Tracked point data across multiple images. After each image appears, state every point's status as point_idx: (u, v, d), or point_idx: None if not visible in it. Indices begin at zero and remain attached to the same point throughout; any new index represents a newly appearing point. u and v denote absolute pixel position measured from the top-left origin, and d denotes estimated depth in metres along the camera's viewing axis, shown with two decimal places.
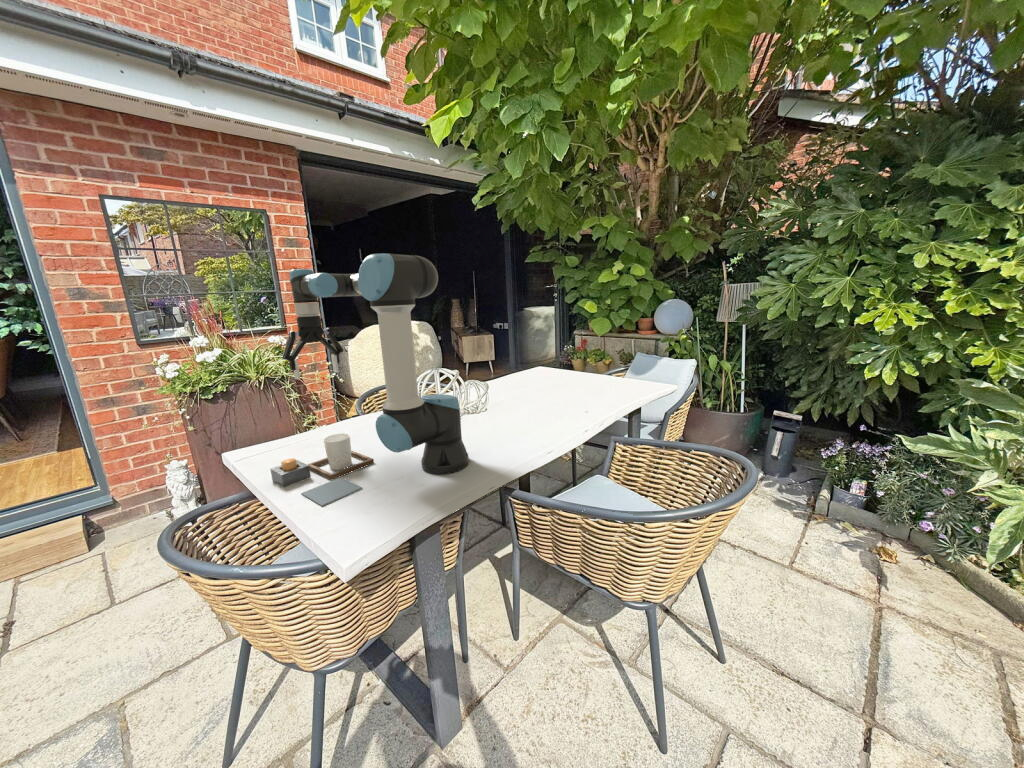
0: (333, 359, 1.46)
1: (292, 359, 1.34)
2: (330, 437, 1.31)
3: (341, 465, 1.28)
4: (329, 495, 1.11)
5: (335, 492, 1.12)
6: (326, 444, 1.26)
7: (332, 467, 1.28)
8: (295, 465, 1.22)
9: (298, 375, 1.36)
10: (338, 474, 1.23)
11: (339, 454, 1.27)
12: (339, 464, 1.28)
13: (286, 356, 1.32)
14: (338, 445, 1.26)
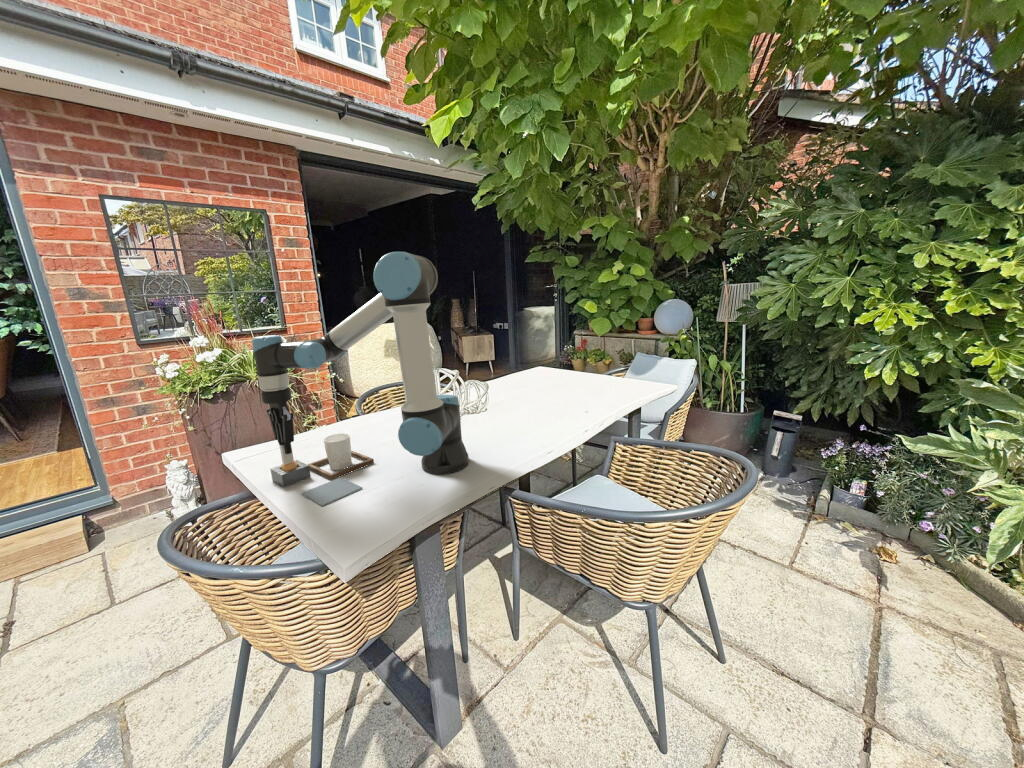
0: None
1: (278, 441, 1.20)
2: (330, 437, 1.31)
3: (341, 465, 1.28)
4: (329, 495, 1.11)
5: (335, 492, 1.12)
6: (326, 444, 1.26)
7: (332, 467, 1.28)
8: (295, 467, 1.22)
9: (282, 459, 1.21)
10: (338, 474, 1.23)
11: (339, 454, 1.27)
12: (339, 464, 1.28)
13: (274, 436, 1.21)
14: (338, 445, 1.26)
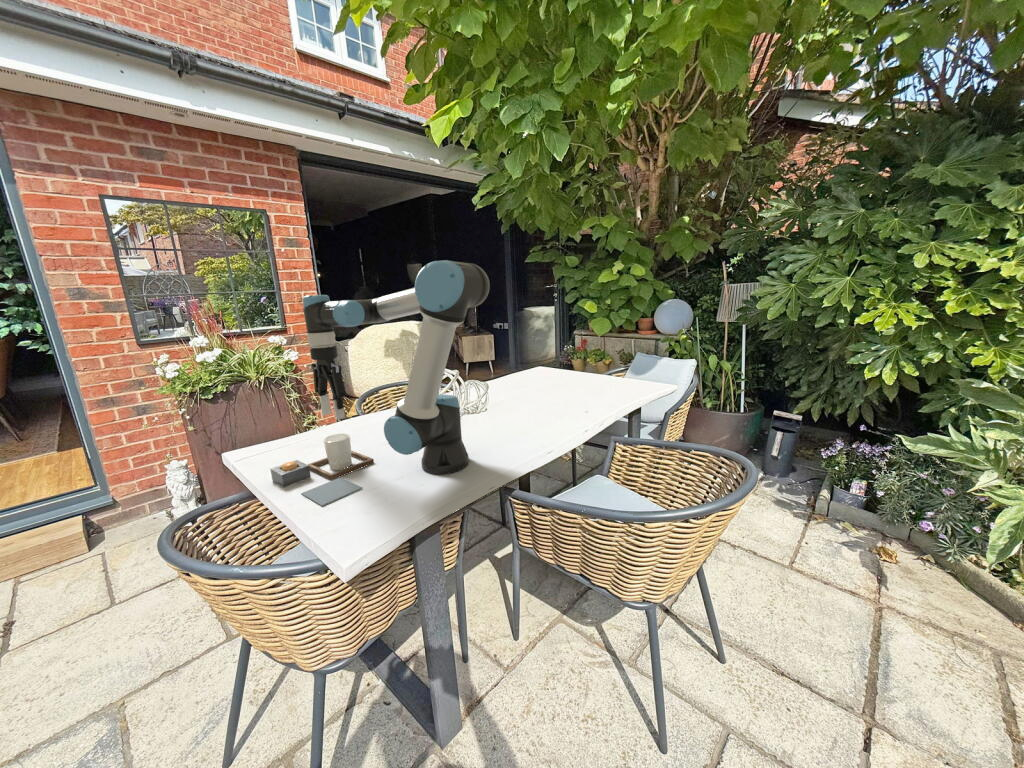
0: None
1: None
2: (330, 437, 1.31)
3: (341, 465, 1.28)
4: (329, 495, 1.11)
5: (335, 492, 1.12)
6: (326, 444, 1.26)
7: (332, 467, 1.28)
8: None
9: (322, 411, 1.29)
10: (338, 474, 1.23)
11: (339, 454, 1.27)
12: (339, 464, 1.28)
13: (315, 389, 1.29)
14: (338, 445, 1.26)
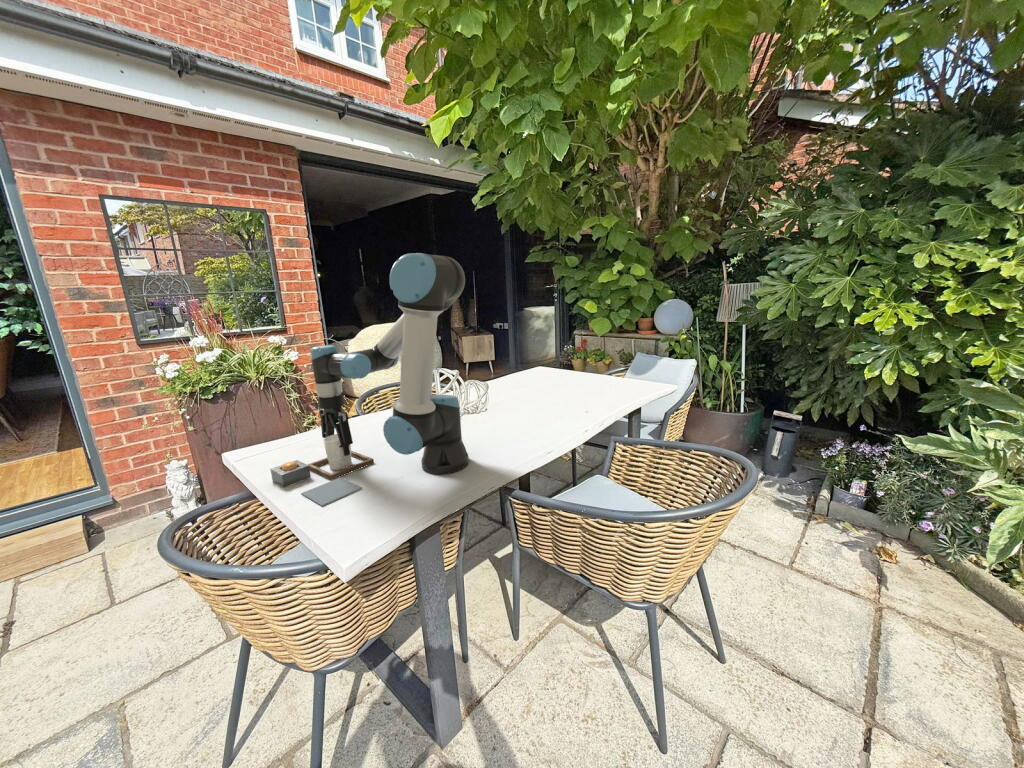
0: None
1: None
2: (330, 437, 1.31)
3: (341, 465, 1.28)
4: (329, 495, 1.11)
5: (335, 492, 1.12)
6: (326, 444, 1.26)
7: (332, 467, 1.28)
8: None
9: None
10: (338, 474, 1.23)
11: (339, 454, 1.27)
12: (339, 464, 1.28)
13: (322, 434, 1.33)
14: (338, 445, 1.26)
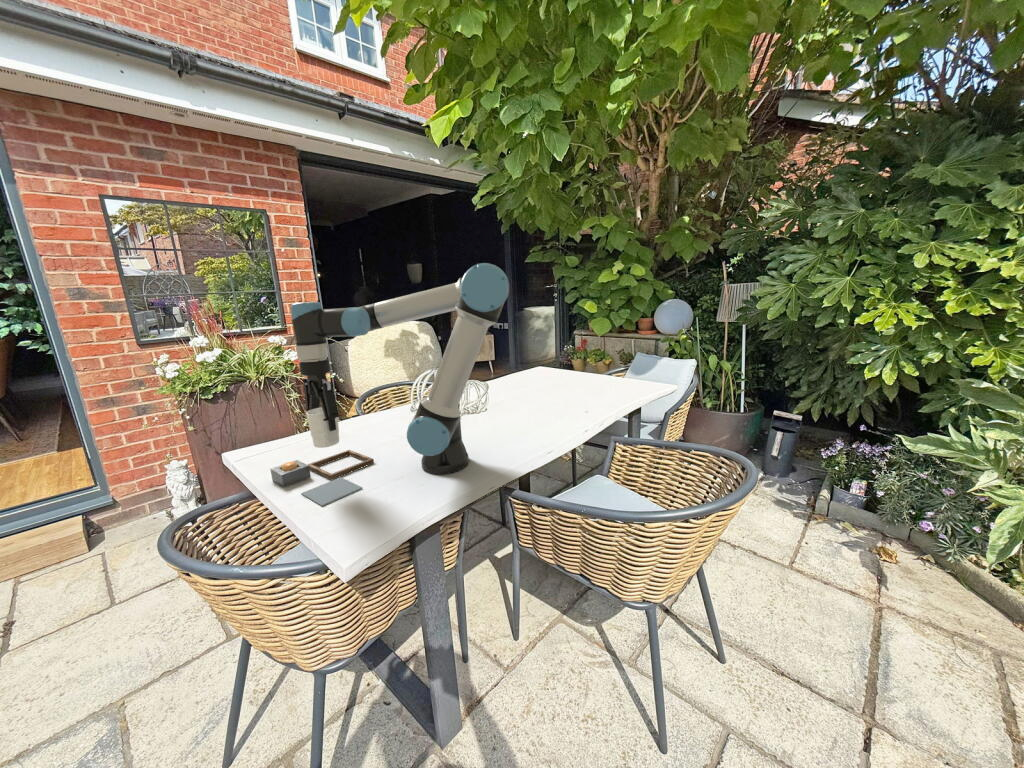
0: None
1: None
2: (315, 410, 1.14)
3: (327, 442, 1.11)
4: (329, 495, 1.11)
5: (335, 492, 1.12)
6: (308, 417, 1.09)
7: (316, 444, 1.11)
8: None
9: None
10: (338, 474, 1.23)
11: (323, 429, 1.10)
12: (323, 440, 1.10)
13: (306, 407, 1.15)
14: (322, 418, 1.09)
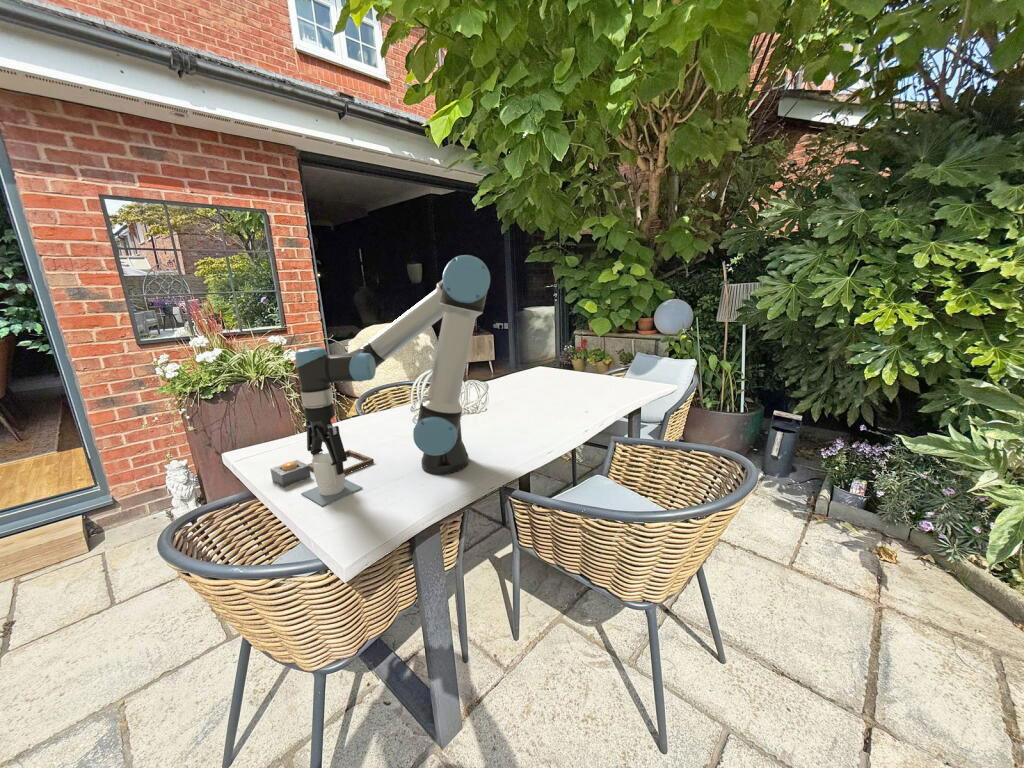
0: None
1: (311, 452, 1.15)
2: (319, 457, 1.14)
3: (333, 490, 1.11)
4: (329, 495, 1.11)
5: None
6: (314, 466, 1.09)
7: (322, 492, 1.11)
8: None
9: None
10: None
11: (330, 477, 1.09)
12: (329, 488, 1.10)
13: (307, 447, 1.15)
14: (328, 467, 1.09)
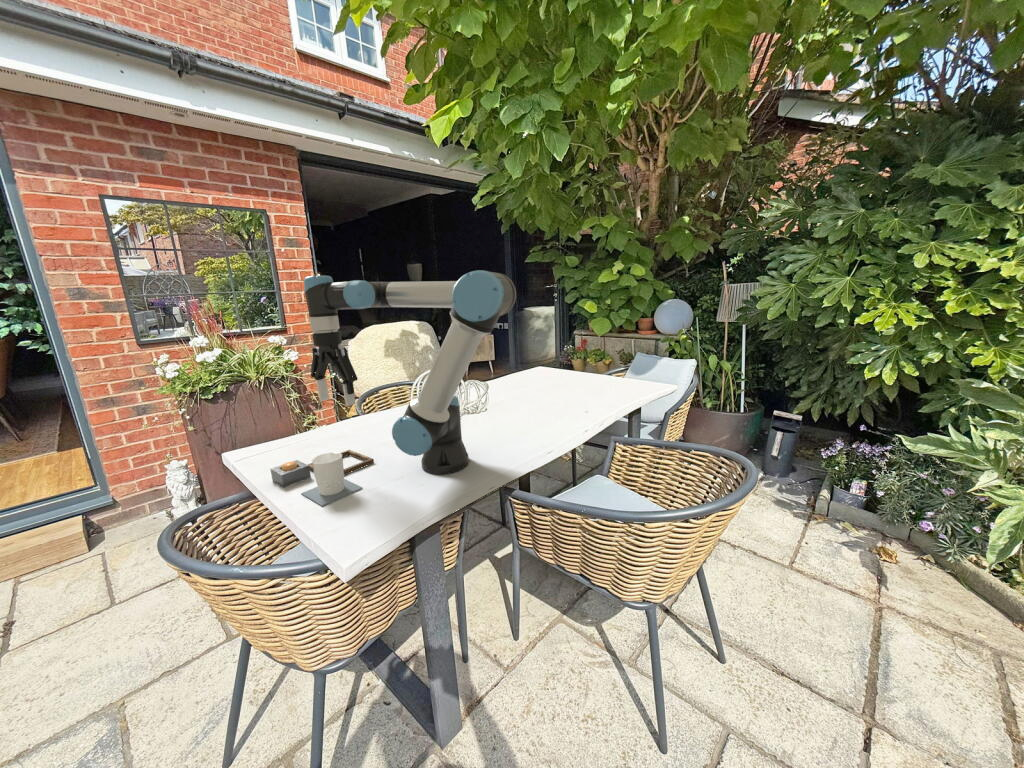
0: None
1: (315, 378, 1.21)
2: (319, 457, 1.14)
3: (333, 490, 1.11)
4: (329, 495, 1.11)
5: None
6: (314, 466, 1.09)
7: (322, 492, 1.11)
8: None
9: (319, 396, 1.21)
10: None
11: (330, 477, 1.09)
12: (329, 488, 1.10)
13: (311, 373, 1.22)
14: (328, 467, 1.09)
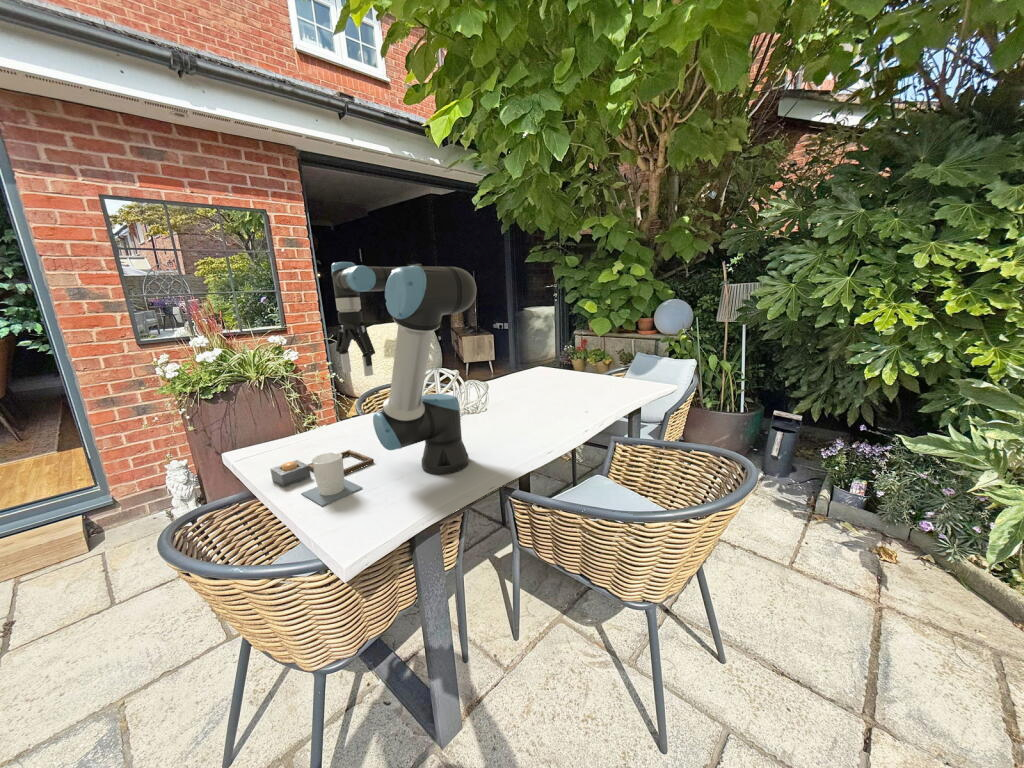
0: None
1: (339, 352, 1.38)
2: (319, 457, 1.14)
3: (333, 490, 1.11)
4: (329, 495, 1.11)
5: None
6: (314, 466, 1.09)
7: (322, 492, 1.11)
8: None
9: (343, 368, 1.39)
10: None
11: (330, 477, 1.09)
12: (329, 488, 1.10)
13: (336, 348, 1.39)
14: (328, 467, 1.09)
